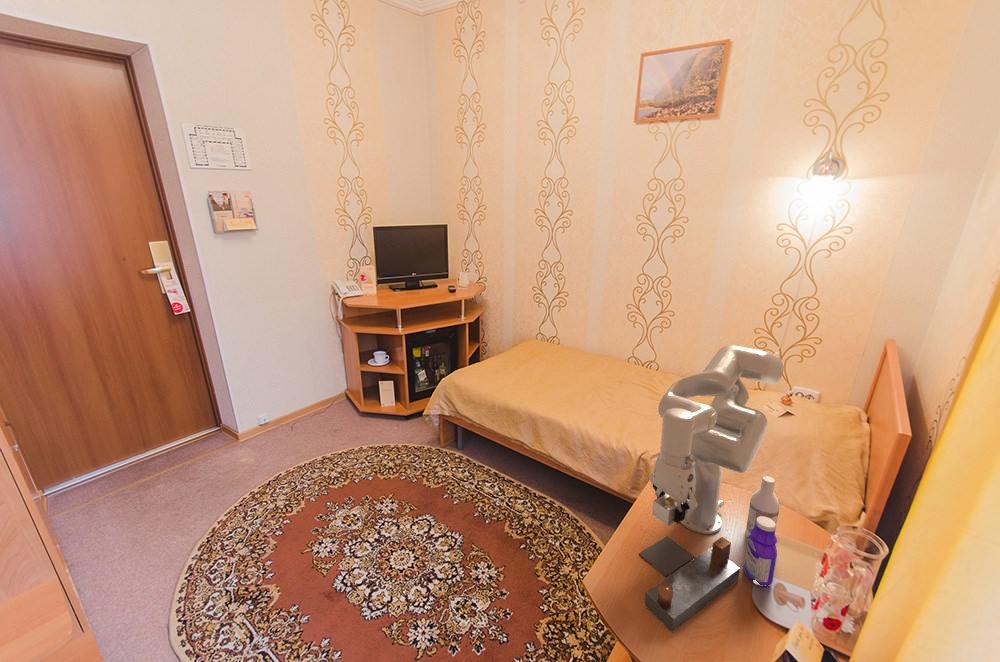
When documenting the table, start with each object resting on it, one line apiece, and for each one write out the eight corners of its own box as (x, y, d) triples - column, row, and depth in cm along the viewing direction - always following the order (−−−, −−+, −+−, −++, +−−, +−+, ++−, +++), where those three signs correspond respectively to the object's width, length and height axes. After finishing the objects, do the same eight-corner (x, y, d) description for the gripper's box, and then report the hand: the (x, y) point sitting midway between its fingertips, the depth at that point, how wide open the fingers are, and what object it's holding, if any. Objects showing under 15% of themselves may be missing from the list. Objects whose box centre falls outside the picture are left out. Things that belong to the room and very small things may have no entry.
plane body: (709, 559, 113) (713, 529, 110) (738, 580, 106) (743, 549, 103) (644, 605, 100) (646, 573, 98) (672, 632, 94) (675, 598, 91)
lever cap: (671, 503, 114) (673, 488, 113) (687, 514, 110) (689, 498, 109) (652, 514, 111) (653, 498, 109) (667, 525, 106) (669, 509, 105)
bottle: (739, 564, 111) (747, 511, 106) (761, 566, 110) (770, 512, 105) (752, 588, 104) (761, 532, 99) (776, 589, 103) (786, 533, 98)
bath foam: (758, 549, 115) (768, 489, 110) (739, 531, 122) (748, 474, 116) (779, 544, 117) (790, 484, 111) (759, 527, 123) (768, 469, 118)
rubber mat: (667, 537, 121) (667, 535, 121) (694, 557, 113) (694, 556, 113) (639, 554, 115) (639, 553, 115) (665, 577, 108) (665, 575, 108)
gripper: (715, 467, 100) (707, 528, 105) (658, 437, 114) (653, 492, 119) (696, 477, 97) (689, 540, 101) (639, 445, 111) (635, 501, 116)
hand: (670, 513), depth 110 cm, fingers closed on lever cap, 5 cm apart
